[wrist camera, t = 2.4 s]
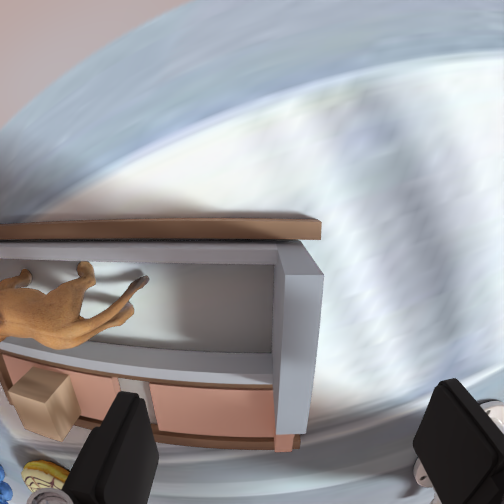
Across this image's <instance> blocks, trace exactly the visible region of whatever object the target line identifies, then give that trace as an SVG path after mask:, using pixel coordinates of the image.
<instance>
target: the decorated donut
mask: <svg viewBox="0 0 504 504" xmlns="http://www.w3.org/2000/svg"><path fill="white" fill-rule="evenodd" d="M69 473H70V472H69V471H67V470H66V469H64V468H63V467H61V466H58V465H56V464H55V463H52V462H47V461H44V460H39V461H31V462H28V463H27V464H26V465H25V466H24V469H23V471H22V472H21V474H22V478H23V480H24V482H25V484H26V485H27V487H28V488H29V489H30V490H31V492H32V493H34V492H35V491H36V490H39V489H42V488H49V487H50V488H56V489H59V490H61V489H62V487H63V485H64V483H65V481H66V479H67V477H68V475H69Z"/></svg>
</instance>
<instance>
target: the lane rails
mask: <svg viewBox="0 0 504 504" xmlns="http://www.w3.org/2000/svg"><path fill="white" fill-rule="evenodd" d="M321 224H322V222H321V221H319V220H318V219H271V218H157V219H109V220H77V221H52V222H31V223H12V224H0V240H4V239H95V238H201V239H300V240H321ZM3 353H6V354H9V355H13V356H16V357H20V358H24V359H28V360H32V361H36V362H40V363H44V364H48V365H53V366H57V367H62V368H67V369H72V370H77V371H82V372H88V373H93V374H99V375H105V376H111V377H118V378H125V379H132V380H140V381H148V382H157V383H167V384H178V385H191V386H206V387H227V388H273V384H225V383H204V382H189V381H177V380H166V379H156V378H147V377H138V376H130V375H123V374H116V373H109V372H103V371H97V370H91V369H85V368H80V367H74V366H69V365H64V364H59V363H55V362H50V361H46V360H41V359H37V358H33V357H29V356H25V355H21V354H17V353H13V352H9V351H6V350H2V349H0V382H1V385H2V387H3V389H4V392H5V394H6V397H7V399H8V401H9V403H10V404H11V405H14V404H13V402H12V400H11V398H10V395H9V393H8V390H9V389H10V388H11V387H12V386H13V383H12V381H11V378H10V375H9V373H8V370H7V367H6V364H5V361H4V359H3V356H2V354H3ZM102 422H103V420H98V419H93V418H89V417H85V416H81V415H80V416H79V418H78V419H77V421H76V422H75V424H74V425H75V426H79V427H83V428H87V429H91V430H93V428H95V427H100V426H101V424H102ZM151 428H152V432H153V436H154V439H155V442H158V443H166V444H174V445H182V446H192V447H203V448H217V449H239V450H275V448H274V437H229V436H211V435H197V434H186V433H177V432H168V431H160V430H159V428H158V425H156V424H151ZM300 442H301V440H300V434H295V436H294V438H293V446H292V449H300Z"/></svg>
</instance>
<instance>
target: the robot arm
mask: <svg viewBox="0 0 504 504" xmlns="http://www.w3.org/2000/svg"><path fill="white" fill-rule="evenodd" d="M413 447H414V450H415V452H416V454H417V456H418V459H417V460H416V463H415V465H414V470H413V474H414V477H415V479H416V481H417V483H418V484H419V485H421V486H423V487H433V489H434V491H435V494H434V499H433V500H432V501H431V503H430V504H504V403H503V402H500V401H490V402H487V403H483V404H481V405H479V404H478V403H477V401H476V400H475V399H474V398H473V397H472V396H471V394H470V393H469V392H468V391H467V390H466V389H465V387H464V386H463V385H462V384H461V383H460V382H459V381H458V380H457V379H456V378H453V379H448V380H444V381H440V382H439V384H438V386H436V387H435V389H434V391H433V394H432V396H431V399H430V402H429V404H428V407H427V409H426V412H425V414H424V417H423V419H422V421H421V424H420V426H419V428H418V431H417V433H416V435H415V437H414V440H413ZM158 460H159V454H158V450H157V446H156V443H155V439H154V436H153V432H152V428H151V424H150V420H149V417H148V412H147V408H146V404H145V401H144V399H142V398H139V395H138V394H137V393H130V392H123V391H120V392H118V394H117V395H116V397H115V399H114V401H113V403H112V405H111V407H110V408H109V410H108V412H107V414H106V416H105V418H104V420H103V422H102V424H101V426H100V427H95V428H93V430H92V431H91V433H90V434H89V436H88V438H87V440H86V442H85V444H84V446H83V448H82V449H81V451H80V453H79V455H78V457H77V459H76V461H75V463H74V465H73V467H72V469H71V471H70V473H69V475H68V477H67V479H66V481H65V483H64V485H63V487H62V489H61V490H59V489H56V488H50V487H49V488H42V489H39V490H36V491H35V492H34V493H32V494H31V495H30V497H29V498H28V500H27V504H147V502H148V498H149V494H150V490H151V487H152V483H153V479H154V476H155V472H156V468H157V465H158Z"/></svg>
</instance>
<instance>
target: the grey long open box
mask: <svg viewBox="0 0 504 504" xmlns="http://www.w3.org/2000/svg"><path fill="white" fill-rule="evenodd" d="M0 259H29V260H60V261H96V262H139V263H191V264H267V265H274V297H273V327H272V353H226V352H202V351H184V350H170V349H157V348H146V347H135V346H126V345H117V344H108V343H100V342H93V341H86V342H84V343H82V344H80V345H79V346H76V347H73V348H69V349H62V350H56V349H52V348H49V347H46V346H44V345H42V344H41V343H39V342H38V341H36V340H35V339H33V338H18V337H13V336H10V337H6V338H5V339H4V340H3V341H1V342H0V349H2V350H6V351H9V352H13V353H17V354H21V355H25V356H29V357H33V358H37V359H41V360H46V361H50V362H55V363H59V364H64V365H69V366H74V367H80V368H85V369H91V370H97V371H103V372H109V373H116V374H123V375H130V376H138V377H147V378H156V379H166V380H177V381H189V382H204V383H225V384H273V398H274V413H275V428H276V435H282V434H306V429H307V423H308V416H309V410H310V403H311V395H312V388H313V380H314V373H315V364H316V356H317V347H318V337H319V328H320V317H321V306H322V294H323V281H324V274H323V273H322V271H321V270H320V269H319V267H318V266H317V264H316V263H315V261H314V260H313V258H312V257H311V256H310V254H309V253H308V251H307V250H306V248H305V247H304V246H303V244H302V243H301V241H276V240H3V241H0Z"/></svg>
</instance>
